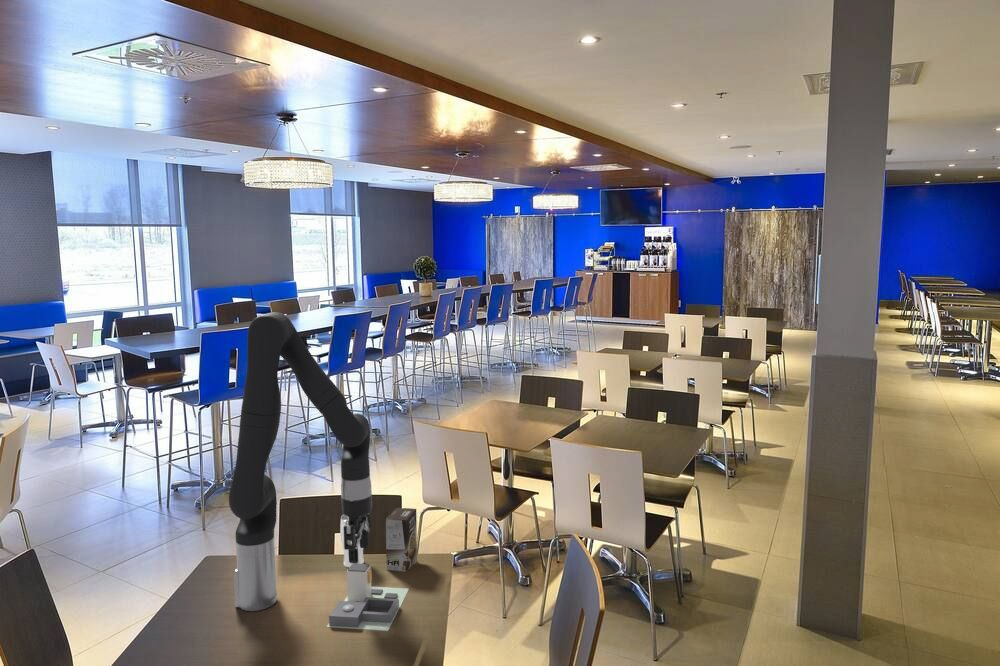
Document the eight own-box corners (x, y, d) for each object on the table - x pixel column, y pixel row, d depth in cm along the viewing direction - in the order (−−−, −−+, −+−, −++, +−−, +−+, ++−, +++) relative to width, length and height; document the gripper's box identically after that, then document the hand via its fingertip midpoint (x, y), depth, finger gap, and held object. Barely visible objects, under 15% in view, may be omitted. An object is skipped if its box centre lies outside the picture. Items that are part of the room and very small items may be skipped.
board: (326, 631, 158) (326, 618, 157) (354, 589, 177) (353, 578, 177) (388, 635, 156) (387, 622, 156) (409, 592, 176) (408, 581, 175)
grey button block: (329, 625, 158) (328, 614, 157) (344, 602, 168) (344, 591, 168) (357, 627, 157) (357, 615, 157) (371, 604, 168) (371, 593, 167)
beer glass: (354, 558, 195) (353, 509, 194) (371, 565, 191) (370, 515, 190) (336, 567, 190) (334, 517, 188) (352, 574, 186) (351, 523, 184)
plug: (347, 601, 169) (346, 570, 168) (352, 593, 173) (351, 563, 172) (368, 602, 168) (368, 571, 168) (373, 594, 172) (372, 564, 172)
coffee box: (407, 576, 185) (406, 520, 183) (385, 573, 186) (384, 518, 184) (418, 561, 194) (417, 508, 192) (397, 559, 195) (396, 506, 193)
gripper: (351, 483, 175) (354, 542, 177) (331, 503, 161) (335, 567, 163) (379, 484, 174) (381, 543, 176) (361, 504, 160) (364, 568, 162)
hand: (359, 554), depth 169 cm, fingers open, 8 cm apart
